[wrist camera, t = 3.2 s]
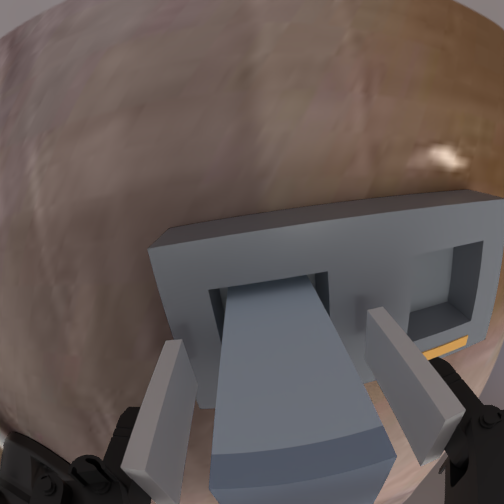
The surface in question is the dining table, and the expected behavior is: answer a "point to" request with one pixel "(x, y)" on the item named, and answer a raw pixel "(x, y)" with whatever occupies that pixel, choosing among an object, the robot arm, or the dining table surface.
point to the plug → (292, 405)
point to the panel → (341, 271)
